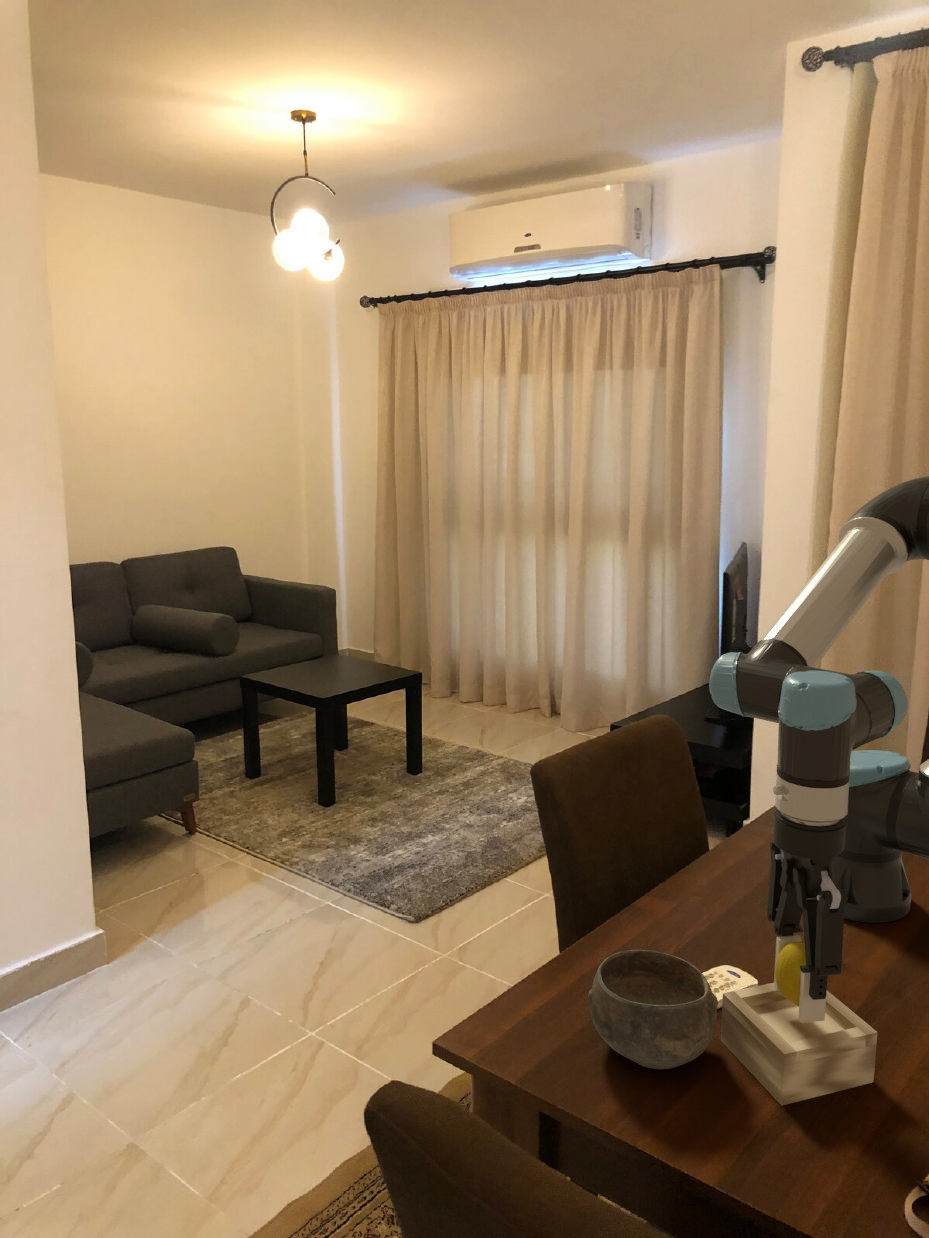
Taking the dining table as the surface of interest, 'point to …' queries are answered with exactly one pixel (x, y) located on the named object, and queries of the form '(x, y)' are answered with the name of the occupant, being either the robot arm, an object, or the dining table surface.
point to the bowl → (653, 1008)
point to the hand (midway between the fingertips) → (798, 1003)
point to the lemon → (790, 970)
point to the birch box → (797, 1044)
